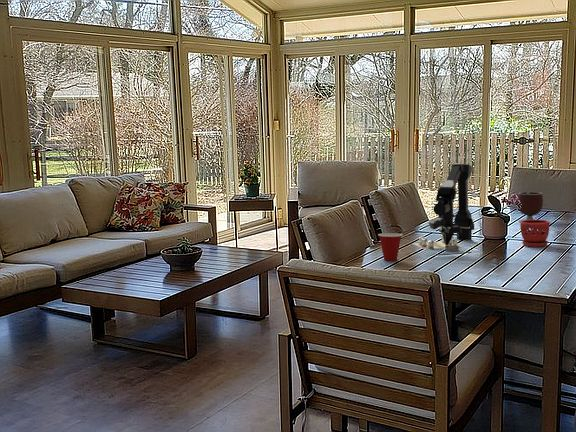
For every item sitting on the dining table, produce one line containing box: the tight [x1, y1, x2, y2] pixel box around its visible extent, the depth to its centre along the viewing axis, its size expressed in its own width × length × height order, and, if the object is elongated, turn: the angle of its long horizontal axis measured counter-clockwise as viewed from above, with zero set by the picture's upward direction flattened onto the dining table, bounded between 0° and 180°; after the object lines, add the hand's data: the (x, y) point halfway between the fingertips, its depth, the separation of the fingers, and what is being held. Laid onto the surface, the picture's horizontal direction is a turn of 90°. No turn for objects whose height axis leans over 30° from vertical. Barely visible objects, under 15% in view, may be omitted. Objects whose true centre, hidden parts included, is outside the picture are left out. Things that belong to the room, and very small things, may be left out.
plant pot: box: [519, 219, 550, 248], centre depth 310 cm, size 13×13×12 cm
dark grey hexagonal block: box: [444, 245, 460, 253], centre depth 300 cm, size 7×6×2 cm
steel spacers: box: [418, 234, 458, 250], centre depth 312 cm, size 17×14×4 cm
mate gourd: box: [517, 189, 544, 223], centre depth 375 cm, size 16×14×20 cm
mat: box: [434, 251, 472, 257], centre depth 301 cm, size 18×10×1 cm, turn 101°
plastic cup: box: [377, 232, 403, 262], centre depth 289 cm, size 11×11×12 cm
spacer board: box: [412, 240, 463, 250], centre depth 313 cm, size 20×15×1 cm
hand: (446, 245), depth 303 cm, fingers closed
